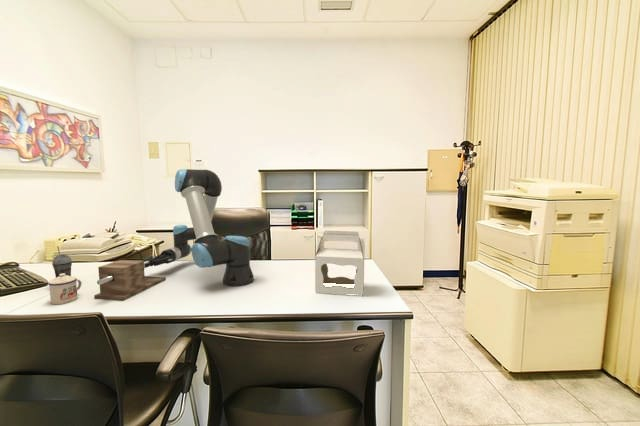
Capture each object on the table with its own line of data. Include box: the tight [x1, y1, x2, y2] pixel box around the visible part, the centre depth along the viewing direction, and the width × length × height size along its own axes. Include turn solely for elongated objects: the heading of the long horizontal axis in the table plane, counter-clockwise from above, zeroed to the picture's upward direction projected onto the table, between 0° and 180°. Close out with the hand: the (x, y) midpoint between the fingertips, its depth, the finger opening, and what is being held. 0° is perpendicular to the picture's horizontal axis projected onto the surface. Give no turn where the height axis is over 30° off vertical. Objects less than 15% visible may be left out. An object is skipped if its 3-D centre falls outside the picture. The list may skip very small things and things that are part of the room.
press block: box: [93, 259, 167, 302], centre depth 138 cm, size 27×14×14 cm, turn 171°
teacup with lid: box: [47, 273, 83, 305], centre depth 126 cm, size 12×9×12 cm
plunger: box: [97, 275, 114, 286], centre depth 132 cm, size 22×6×6 cm, turn 171°
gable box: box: [314, 230, 366, 296], centre depth 138 cm, size 22×13×28 cm, turn 80°
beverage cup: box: [52, 245, 73, 278], centre depth 141 cm, size 7×7×20 cm
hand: (138, 267), depth 143 cm, fingers closed
